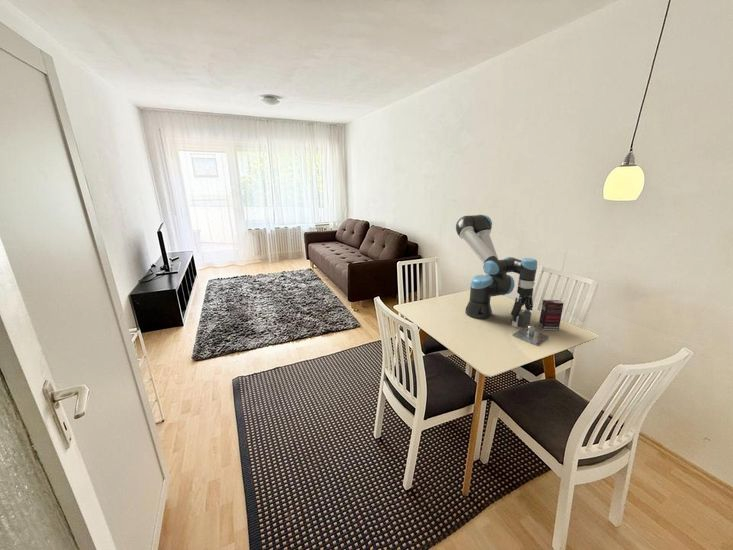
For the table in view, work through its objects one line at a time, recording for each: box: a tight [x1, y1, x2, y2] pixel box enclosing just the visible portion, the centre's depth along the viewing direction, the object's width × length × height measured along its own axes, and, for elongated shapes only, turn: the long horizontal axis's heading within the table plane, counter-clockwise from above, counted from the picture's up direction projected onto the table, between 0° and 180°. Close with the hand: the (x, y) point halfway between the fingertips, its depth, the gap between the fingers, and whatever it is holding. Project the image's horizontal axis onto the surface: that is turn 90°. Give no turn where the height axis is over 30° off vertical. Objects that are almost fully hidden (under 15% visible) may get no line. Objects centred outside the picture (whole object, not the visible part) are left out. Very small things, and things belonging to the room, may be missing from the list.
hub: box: [512, 324, 549, 346], centre depth 151 cm, size 12×12×6 cm
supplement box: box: [538, 299, 564, 331], centre depth 158 cm, size 9×5×16 cm, turn 84°
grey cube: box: [510, 308, 532, 328], centre depth 165 cm, size 7×7×7 cm
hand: (520, 323), depth 166 cm, fingers open, 12 cm apart
